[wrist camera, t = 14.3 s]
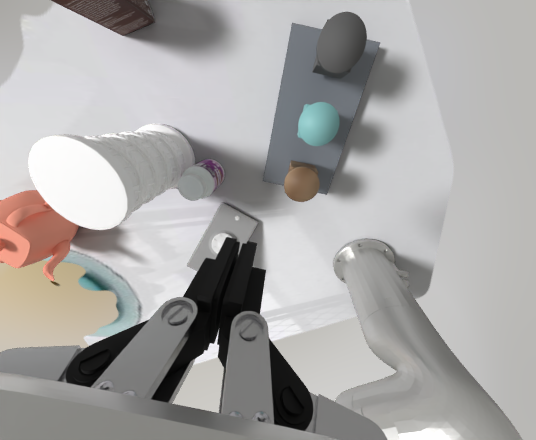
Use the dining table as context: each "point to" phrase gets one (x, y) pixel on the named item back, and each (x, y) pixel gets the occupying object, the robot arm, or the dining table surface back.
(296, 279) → the dining table surface
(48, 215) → the teapot
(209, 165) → the pill bottle
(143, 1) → the box
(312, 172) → the walnut key
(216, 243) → the light switch
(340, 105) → the panel
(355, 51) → the dark grey round-topped block
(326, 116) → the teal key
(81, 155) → the decorative container
